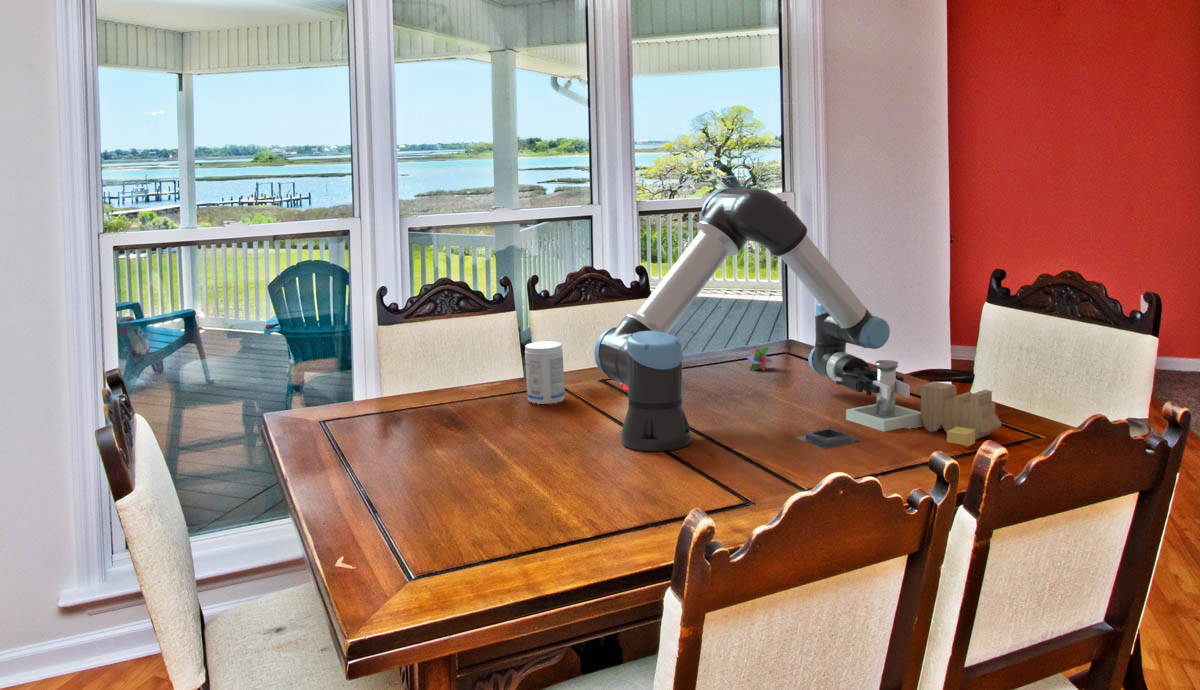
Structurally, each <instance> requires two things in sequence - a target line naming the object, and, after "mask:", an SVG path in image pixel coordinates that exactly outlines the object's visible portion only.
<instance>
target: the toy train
mask: <svg viewBox="0 0 1200 690" xmlns="http://www.w3.org/2000/svg"><path fill="white" fill-rule="evenodd" d="M916 390H917V392H918V394H919V395H920V412H921V413H920V417H921V419H923V424H924V428H925V429H926V430H927V431H928V432H932V431H934V432H937V431H939V430H942V429H943V430H944V432H945V433H946V434H947V431H949V430H951V429H953V428H955V427H957V426H958V427H964V428H970V429H975V441H976V440H979V439H981V438H983V437H986V436H988V435H991V434H992V431H994V430H996V429H999V428H1001V427H1002V421H1001V420H1000V419H999V417H998V416H997V414H996V401H993V400H992V399H993V397H992V396H993V394H992V393H993V391H992V390H989V389H982V390H979V391H977V392H974V393H973V392H972V391H967V392H964V393H961V394H958V395H957V386H956V384H951V383H945V382H939V381H930V382H927V383H923V384H920V385H918V386H917V388H916Z"/></svg>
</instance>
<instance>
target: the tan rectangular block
mask: <svg viewBox="0 0 1200 690" xmlns="http://www.w3.org/2000/svg"><path fill="white" fill-rule="evenodd" d="M946 443H948V444H949V443H950V444H956V445H961V446H964V447H968V446H969V447H971V446H973V445H975V443H976V440H975V429H970V428H964V427H958V426H957V427H955V428H953V429H951V430H949V431H947V433H946ZM972 444H973V445H972ZM970 445H971V446H970Z"/></svg>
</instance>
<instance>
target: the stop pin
mask: <svg viewBox="0 0 1200 690" xmlns="http://www.w3.org/2000/svg"><path fill="white" fill-rule="evenodd" d="M898 363H899V362H898V361H896V360H891V359H880V360H876V361H875V368H876V371H877V381H878V382H880V383H882V384H885V385H887V386H889V387H891V388H890V399H885V398H883V397H881V396H879V395H877V394H876V403H875V404H876V415H878V416H883V417H891V416H894V415H895V405H896V393H895V382H896V374H897V368H898V367H899V366H898Z"/></svg>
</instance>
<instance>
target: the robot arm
mask: <svg viewBox="0 0 1200 690" xmlns="http://www.w3.org/2000/svg"><path fill="white" fill-rule="evenodd" d="M701 207H702V208H701V216H700V220H699V221H698V222H697V224H696V229H697V230H696V231H697V235H695V237H694V238H693V240H692V241H691V242H690V243H689V245H688V246H687V247H686V248H685V250H683V252H682V254H681V255H680V256H679V258H678V259H677V260H676V262H674V264H673V265H672V267H671V268H670V269H669V270H668V271H667V273H666V274H665V275H664V277H663V278H662V279H661V280H660V282H659V283H658V284H657V286H656V287H655V288H654V290H653V291H652V293H650V295H649V296H648V297H647V299H646V300H645V301H644V302H643V304H642V305H641V306H640V308H638V310H637V312H635V313H631V314H626V315H624V317H623V319H622V320H621V321H620V323H619V324H618V325H617V326H616V327H611V328H608V329H606V330H605V331H603V332H602V333H601V334H600V335H599V337H598V338H597V340H596V343H595V345H594V346H595V347H594V351H593V352H594V353H593V354H594V360H595V364H596V367H597V368H598V370H599V371H600V372H601V373H602V374H604V375H605V376H606V377H607V378H608V379H610V380H611V381H615V382H617V383H619V384H620V383H623V384H625V385H627V386H628V392H627V393H628V397H627V398H628V399H627V400H628V407H627V412H626V415H625V417H624V422H623V425H622V429H621V431H620V436H621V437H620V440H621V441H620V442H621V444H622V445H623V446H624V447H626V448H629V449H632V450H636V451H645V452H667V451H666V450H668V451H673V450H678V449H683V448H685V447H687V446H689V445H690V444H691V443H692V431H691V428H690V425H689V421H688V419H687V417H686V413H685V410H684V406H683V359H684V356H683V355H684V354H683V350H682V343H681V341H680V339H679V338H678V337H677V336H676V335H673V334H671V333H670V332H671V330H672V329H673V327H674V326H675V325H676V324H677V322H678V321H679V320H680V318H681V317H683V314H684V313H685V312H686V311H687V310H688V308H689V306H690V305H691V304H692V303H693V301H694V300H696V298H697V296H698V295H700V293H701V291H702V290H703V289H704V287H705V286H706V285H707V283H708V282H709V281H710V279H711V278H712V277H713V276H714V274H715V273H716V271H717V270H718V269H719V268H720V266H721V265H722V264H723V263H724V261H725V260H726V259H727V257H732V256H737V255H738V254H739V253H740V251H741V249H743V247H744V246H745V245H746V243H747V242H749V241H750V242H755V243H758V244H760V245H761V246H762V247H765V248H766V249H767V250H768V251H769V253H771V254H772V256H773V257H778V258H779V257H780V258H781V259H782V261H784V263H785V264H786V265H787V266H788V268H789V269H790V270H791V271H792V272H793V273H794V275H795V276H796V277H797V278H798V280H799V281H800V282H801V283H802V284H803V286H805V288H806V289H807V290H808V291H809V292H810V293H811V294H812V296H813V297H814V298H815V299H816V300H817V302H816V305H815V315H814V324H815V325H814V326H815V327H814V329H815V334H814V335H815V340H814V341H815V344H814V347H813V348H812V349H811V351H810V352H809V355H808V365H809V367H810V368H811V369H812V370H813V371H814V372H815V373H817V374H818V375H819V376H821V377H824V378H827V379H829V380H832V381H833V382H835V384H836V385H839V386H843V387H846V388H848V389H850V390H853V391H855V392H857V393H863V392H864V391H865V395H866V396H872V393H873V394H874V395H876V396H877V395H879V396H881V397H883V398H885V399H890V388H891V387H889V386H887V385H885V384H882V383H880V382H878V381H877V369H873V368H872V367H870V366H869V365H868V363H867V362H866V361H865V360H864V359H863V358H860V357H858V356H855V355H853V354H850V353H849V352H847V347H846V346H847V344H849V345H854V346H858V347H861V348H864V349H872V350H877V349H881V348H882V347H884V346H885V344H887V342H888V341H889V338H890V332H891V329H890V325H889V323H888V322H887V321H886V320H885V319H884V318H881V317H879V316H877V315H876V316H875V315H873V314H872V313H871V312H870V311H869V310H868V308H867V307H866V306H865V305H864V303H862V301H861V300H860V299H859V297H858V296H857V295H856V294H855V293H854V291H853V290H852V289H851V288H850V286H849V285H848V284H847V283H846V281H844V278H843V277H842V276H841V275H840V274H839V273H838V272H837V270H836V269H835V268H834V267H833V266H832V264H831V263H830V262H829V260H828V259H827V258H826V257H825V256H824V254H823V253H822V252H821V251H820V250H819V248H818V247H817V246H816V244H815V243H814V242H813V241H812V239H811V238H810V237H809V236H808V228H807V226H806V225H805V224H804V223H803V221H802V219H800V217H799V216H798V215H797V214H796V213H795V212H794V211H793V209H792V208H791V207H790V206H788V205H787V204H786V202H784V201H783V200H782V199H781V198H780V197H778V196H777V195H776V194H774V193H773V192H770V191H768V190H765V189H759V188H755V189H753V188H739V187H727V188H721V189H718V190H716V191H714V192H713V193H711V194H710V195H708V197H707V198H706V200H705V201H704V203H703V204H702V206H701ZM904 379H905V377H903V376H901V375H899V374H897V373H896V382H895V394H898V395H900V396H903V397H905V398H910V396H911V395H910V393H911V390H910V389H911V385H910V384H908V383H905V380H904Z"/></svg>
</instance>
